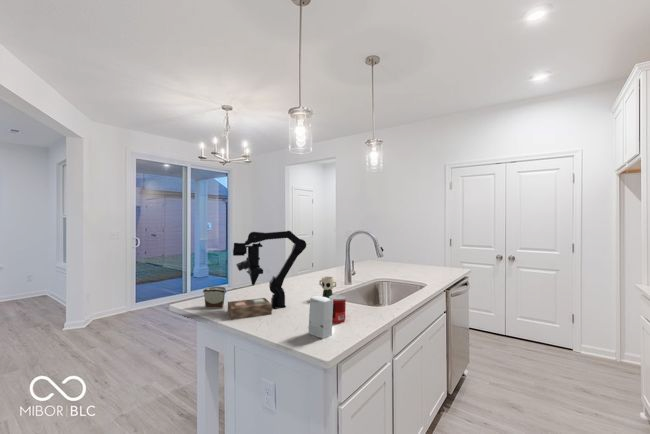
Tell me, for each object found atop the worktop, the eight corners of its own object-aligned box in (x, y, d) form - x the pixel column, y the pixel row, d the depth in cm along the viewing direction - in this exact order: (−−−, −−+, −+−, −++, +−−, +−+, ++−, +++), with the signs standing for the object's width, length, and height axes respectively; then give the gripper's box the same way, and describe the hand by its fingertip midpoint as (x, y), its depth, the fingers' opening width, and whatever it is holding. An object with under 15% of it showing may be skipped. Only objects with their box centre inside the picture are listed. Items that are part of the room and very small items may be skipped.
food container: (230, 305, 162) (230, 286, 162) (225, 308, 156) (225, 289, 156) (208, 304, 163) (208, 286, 164) (202, 307, 157) (202, 288, 157)
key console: (264, 307, 159) (265, 297, 159) (271, 314, 147) (271, 304, 147) (227, 311, 150) (227, 301, 150) (231, 319, 139) (231, 308, 139)
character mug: (316, 300, 173) (316, 277, 174) (322, 297, 180) (322, 275, 180) (333, 302, 169) (333, 279, 169) (338, 299, 175) (338, 277, 175)
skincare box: (308, 334, 122) (308, 297, 122) (317, 329, 127) (318, 294, 127) (323, 339, 117) (324, 301, 117) (333, 335, 121) (333, 298, 121)
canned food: (347, 318, 141) (347, 295, 141) (342, 324, 133) (342, 299, 134) (331, 317, 143) (331, 294, 144) (326, 322, 136) (326, 298, 136)
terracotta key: (244, 309, 150) (244, 301, 150) (246, 311, 145) (246, 304, 146) (234, 310, 148) (234, 302, 148) (235, 313, 143) (235, 305, 143)
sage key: (262, 305, 154) (262, 298, 154) (264, 307, 149) (264, 300, 149) (252, 306, 152) (252, 299, 152) (254, 309, 147) (254, 301, 147)
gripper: (234, 254, 162) (234, 282, 162) (241, 258, 146) (240, 290, 145) (255, 253, 167) (255, 281, 167) (263, 257, 151) (263, 288, 150)
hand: (253, 285), depth 157 cm, fingers closed
